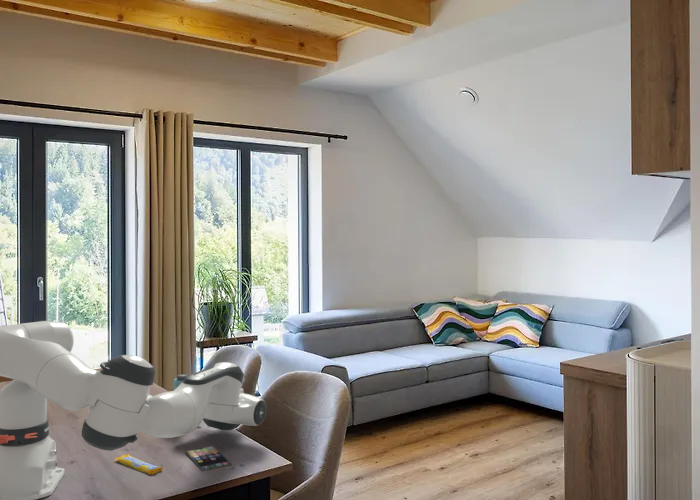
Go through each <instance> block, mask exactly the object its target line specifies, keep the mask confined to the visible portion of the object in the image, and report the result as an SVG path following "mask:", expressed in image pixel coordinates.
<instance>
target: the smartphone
mask: <svg viewBox="0 0 700 500" xmlns="http://www.w3.org/2000/svg"><path fill="white" fill-rule="evenodd" d="M184 453H185V455H186V456H187V457H188V458H189V459H190V460H191V461H192V462H193V463H194V464H195V465H196V466H197V467H198V468H199V469H200V471H201V472H204V471H209V470H214V469H219V468H224V467H228V466H232V465H233V464H232V463H231V462H230V461H229V460H228V459H227V458H226V457H225V456H224V455H223V454H222V453H221V452H220V451H219V450H218V449H217V448H216V447H215V445H213V446H212V445H211V446H206V447H199V448H196V449H195V448H194V449H189V450H185V452H184Z"/></svg>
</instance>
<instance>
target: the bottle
mask: <svg viewBox="0 0 700 500" xmlns="http://www.w3.org/2000/svg"><path fill="white" fill-rule="evenodd" d="M187 376H188V374H178V375H176V378H174V379H173V391H174V390H175V389H176V388H177V387H178V386H179V385H180V384H181V383H182V382H183V380H184V379H185V378H186V377H187Z"/></svg>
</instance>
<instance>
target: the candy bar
mask: <svg viewBox="0 0 700 500" xmlns="http://www.w3.org/2000/svg"><path fill="white" fill-rule="evenodd" d="M114 460H115V461H116V462H118V463H120V464H121V465H124V466H126V467H128V468H132V469H134V470H137V471H139V472H142V473H144V474H146V475H149V476H150V475H151V476H153V475H155V474H157V473H159V472H162V471H163V469H164V468H163V466H161V467H159V466H157V465H153V464H152V463H148V462H145V461H143V460H140V459H138V458H136V457H134V456H132V455H130V454H128V453H125V454H122V455H119V456H117V457H115V458H114Z"/></svg>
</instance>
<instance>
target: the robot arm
mask: <svg viewBox="0 0 700 500" xmlns="http://www.w3.org/2000/svg"><path fill="white" fill-rule="evenodd" d="M73 347H74V335H73V332H72V330H71V328H70V326H68V325H67V324H66V323H65V322H62V321H55V320H40V321H34V322H33V321H32V322H31V321H30V322H24V323H18V324H17V323H15V324H8V325H0V377H4V378H6V379H7V378H8V379H11V381H10V382H9V383H8V384H6V385H5V386H3V387H2V388H1V389H0V500H39V499H42V498H46V497H48V496H51V495H52V494H53V493H54V491H55V490H56V488H57V486H58V485H59V484H60V482H61V480H62V479H63V476H65V473H66V472H65V471H66V470H65V468H63V467H58V462H57V447H56V446H57V445H56V443H57V442H56V441H55V440H54V439H53V438H52V437H50V423H49V419H48V417H47V416H48V415H47V413H48V412H47V411H48V409H47V406H48V402H50V403H51V404H54V405H55V406H57V407H60V408H62V409H64V410H68V411H73V412H74V411H75V412H76V411H81V410H83V409H85V408H87V407H89V408H88V410H87V415H86V419H84V421H83V424H82V426H81V427H82V428H81V429H82V430H81V437H82V438H83V441H85V443H87V444H88V445H90V446H92V447H94V449H98V450H102V451H108V452H109V451H115V450H119V449H121V448H124V447H126V446H127V445H128V444H131V443H133V444H134V443H135V442H136V441H137V440H138V434H140V433H144V434H146V435H149V436H151V437H154V438H162V439H169V438H178V437H183V436H186V435H189V434H191V433H193V432H194V431H195V430H196V429H198V428H197V427H198V426H199V425H201V424H202V422H203V423H204V424H205V425H206V426H207V427H210V428H214V429H217V430H222V431H232V430H234V429H236V428H238V427H239V426H240V425H243V426H253V427H254V426H255V427H256V426H260V425H261V424H263V422H264V421H265V418H266V414H267V408H268V407H267V403H266V401H265V400H264V399H263V398H260V397H258V396H256V395H253V394H249V393H245V392H244V388H242V384H243V381H244V376H245V374H244V371H243V370H242V368H241V367H240V365H238V364H235V363H233V362H229V361H221V362H216V363H214V364H212V365H211V366H210V367H208V368H205V369H201V370H199V371H195V372H194V373H191V374H189V375H187V377H186V378H185V379H184V380H183V382H182V383H181V384H180V385H179V386H178V387H177V388H176V389H175V390H174V389H173V390H171V391H165V392H161V393H158V394H155V395H152V396H153V397H151V398H147V397H148V394H149V395H150V389H151V387H152V386H153V385H154V381H155V376H156V369H155V367H154V366H153V365H152V364H151V363H150V362H149V361H147V360H146V359H145V358H143V357H141V356H137V355H133V354H121V355H118V356H114V357H112V358H111V359H110V360H108V361H103V362H101V363H100V364H99V367H100V368H101V369H100V370H97V369H95V368H94V369H93V368H92V367H90V366H88V365H87V364H86V363H85V362H84V361H83V360H82V359H80V357H78V356H77V355H75V354H73V353H72V350H73Z"/></svg>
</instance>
